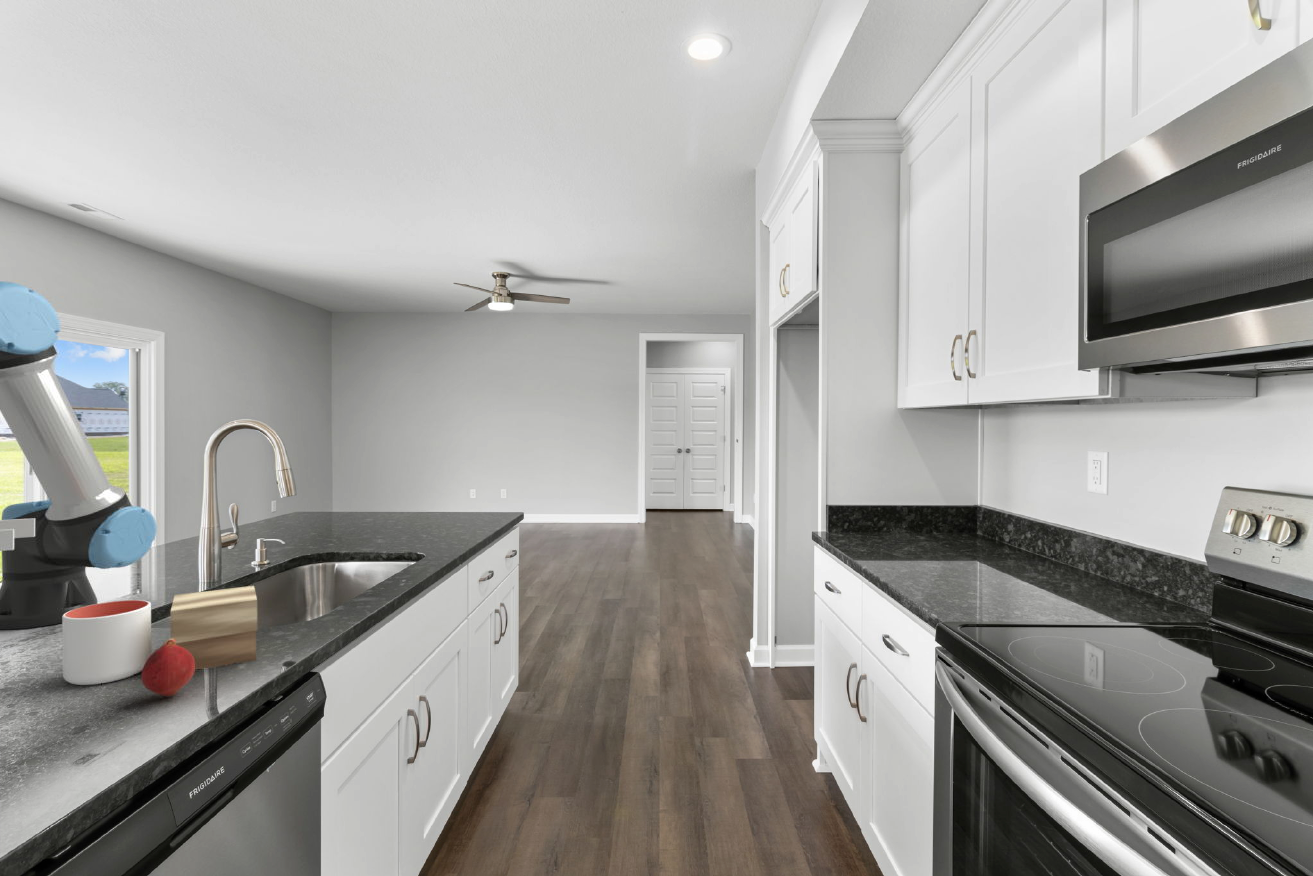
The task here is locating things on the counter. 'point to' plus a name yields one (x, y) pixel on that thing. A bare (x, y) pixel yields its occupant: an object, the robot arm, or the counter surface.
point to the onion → (168, 669)
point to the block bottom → (222, 649)
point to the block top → (213, 614)
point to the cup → (106, 641)
